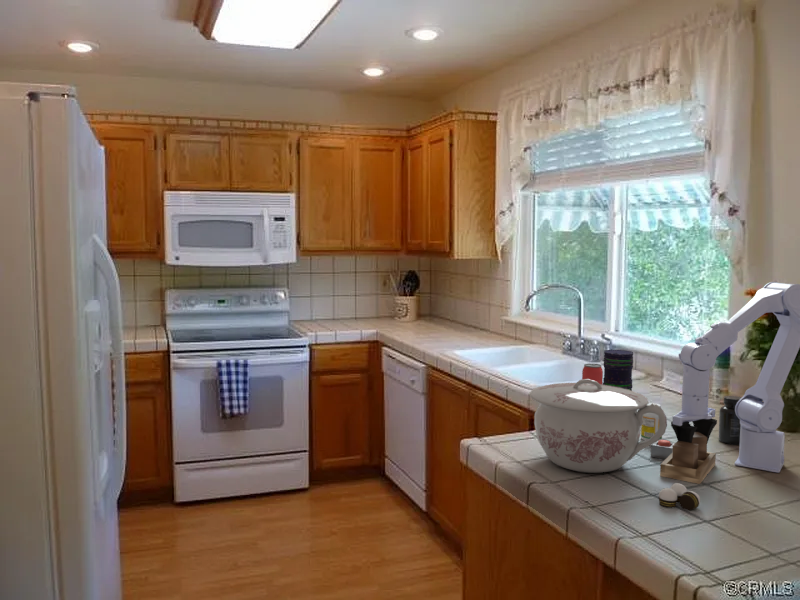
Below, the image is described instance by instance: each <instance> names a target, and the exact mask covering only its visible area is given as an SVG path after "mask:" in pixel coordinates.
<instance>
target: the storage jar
mask: <svg viewBox="0 0 800 600" xmlns="http://www.w3.org/2000/svg"><path fill="white" fill-rule="evenodd" d="M603 354H604V355H603V369H604V370H603V383H602V384H603V385H610V386H616V387H620V388H625V389H628V390H631V391H633V379H632V378H633V369H634V352H633V351H630V350H624V349H607V350H604V351H603Z"/></svg>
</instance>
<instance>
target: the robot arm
mask: <svg viewBox="0 0 800 600" xmlns="http://www.w3.org/2000/svg"><path fill="white" fill-rule="evenodd" d="M766 313H773V315H774V316H775V317H776V319H777V320H778V322H779V324H780V325H779V327H778V330H777V333H776V334H775V337H774V340H773V342H772V344H771V347H770V349H769V351H768V353H767V356H766V359H765V360H764V363H763V365H762V368H761V370H760V373H759V376H758V378H757V379H756V380H757V381H756V382H755V383H754V385H752V386H751V387H749V388H748V389H746V390H745V392H744V395H743V396H742V398H741V399H740V400H739V401H738V402H737V404H736V406H735V413H736V416H737V417H738V418H739V419H740V424H741V427H740V445H738V446H739V448H738V451H739V452H738V457H737V459H736V460H735V462H734V466H739V467H744V468H750V469H756V470H760V471H761V470H762V471H767V472H773V473H780V472H781V470H782V468H783V466H784V464H785V456H784V455H785V454H784V453H785V437H786V436H785V432H783V431H779V430H776V429H778V428H779V427H780V426H781V423H782V421H783V410H784V407H785V403H784V399H783V398H782V396H781V393H782V390H783V387H784V385H785V382H786V381H787V379H788V376H789V373H790V371H791V369H792V366H793V364H794V362H795V359H796V357H797V354H798V352H799V350H800V283H795V284H794V283H786V282H785V283H784V282H778V281H770V282H768V283H766V284H765V285H764V286H763V287H762V288H760V289H758V290H757V291H756V293H755V294H754V296H753V297H752V298H751V299H750V300H749V301H748V302H747V303H746V304H745V305H744V306H743V307H741V309H739V310H737V312H736V313H735V314H733V316H732V317H731V318H729V319H728V320H727V321H726V322H725V321H718V322H717V323H716V322H714V323H712V324H711V325H710V326H709V327H710V328H709V329H708V330H707V331H706V332H704V333H703V334H702V335H701V336H697V337H696V338H695V339H694V340H695V341H694V342H689V343H686V344H684V346H683V347H682V348H681V350H680V353H678V359H679V361H680V362H681V365H682V390H681V410H680V411H679V412H678V413H676V414H674V415H672V421H671V422H670V426H671V428H672V430H673V432H674V433H675V436H676V440H677V441H682V442H688V443H692V439H693V436H694V433H695V432H699V433H701V434H703V435H704V436H706V437H707V444H708V443H709V439H710V437H711V434H712V432H713V430H714V428H715V426H717V424H718V420H717V419H714V418H715V417H716V408H712V407H709V393H710V392H709V390H710V372H711V371H710V370H711V369H710V368H713V367H714V366H715V364H716V361H717V357H719V355H721V354H722V353H723V352H725V351H726V350H727V349H728V348H729V347H730V346H732V345H733V344H734V343H735V342H737V341H738V335H739V332H741V331H742V330H744V329H745V328H747V327H748V326H749V325H751V324H752V323H754V322H755V321H757V319H759V318H760V317H762V316H763V315H765V314H766ZM691 422H692V424H693V425H691V424H690V423H691Z"/></svg>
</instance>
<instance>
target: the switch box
mask: <svg viewBox="0 0 800 600" xmlns="http://www.w3.org/2000/svg"><path fill="white" fill-rule="evenodd" d="M658 441H659V440H658ZM658 441H657V442H655V443H653V444H651V445H650V457H651V458H658V459H662V460H665V459H666V458H667V457H668V456H669V455H670V454H671V453H673V445H674V444H675V443H676V442H671V441H670V447H666V446H661V445H658Z"/></svg>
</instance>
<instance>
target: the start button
mask: <svg viewBox="0 0 800 600" xmlns="http://www.w3.org/2000/svg"><path fill="white" fill-rule="evenodd" d="M670 442H671V441H669V440H666V439H662V440H659V441H658V445H661V446H666V447H670Z"/></svg>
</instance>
